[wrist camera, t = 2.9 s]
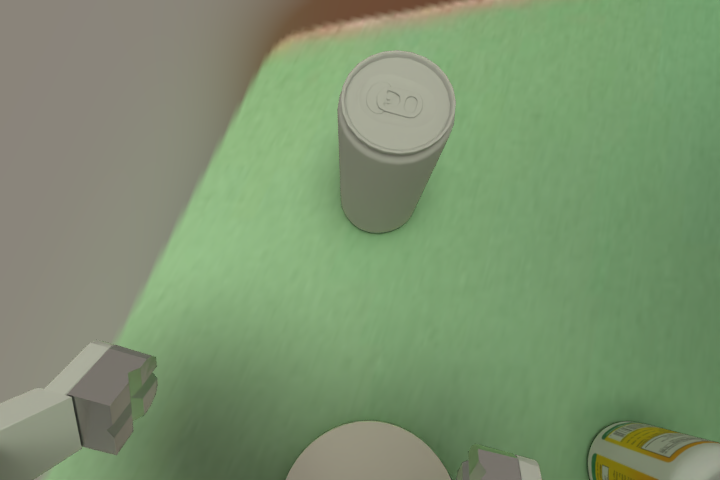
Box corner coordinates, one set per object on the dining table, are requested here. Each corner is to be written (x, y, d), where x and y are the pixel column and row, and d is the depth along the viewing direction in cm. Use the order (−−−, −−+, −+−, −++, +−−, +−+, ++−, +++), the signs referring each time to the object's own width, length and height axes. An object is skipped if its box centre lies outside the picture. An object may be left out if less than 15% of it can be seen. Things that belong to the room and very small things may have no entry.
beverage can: (352, 158, 30) (355, 34, 18) (421, 176, 30) (470, 63, 18) (332, 225, 29) (322, 138, 17) (404, 244, 28) (444, 170, 17)
